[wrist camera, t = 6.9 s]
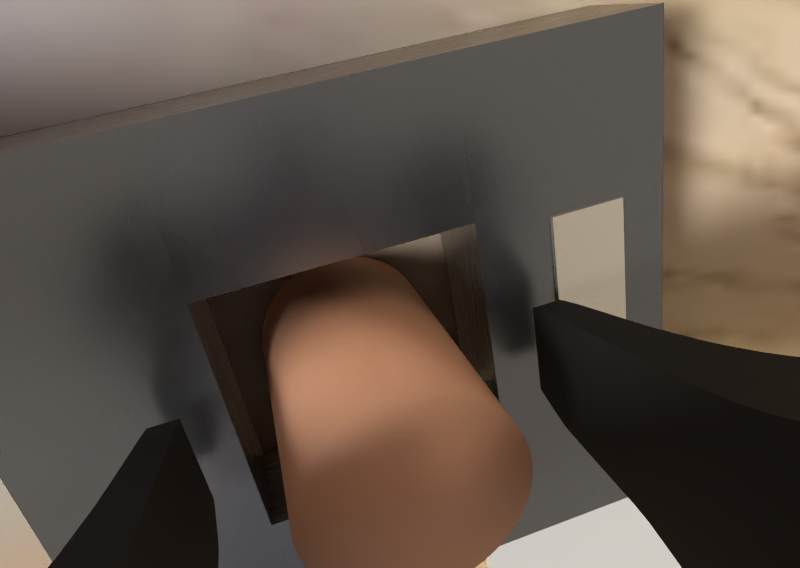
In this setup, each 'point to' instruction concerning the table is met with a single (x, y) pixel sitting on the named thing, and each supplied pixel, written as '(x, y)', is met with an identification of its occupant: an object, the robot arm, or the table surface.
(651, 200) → the hole plate
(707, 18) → the table surface
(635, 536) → the tile
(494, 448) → the peg
